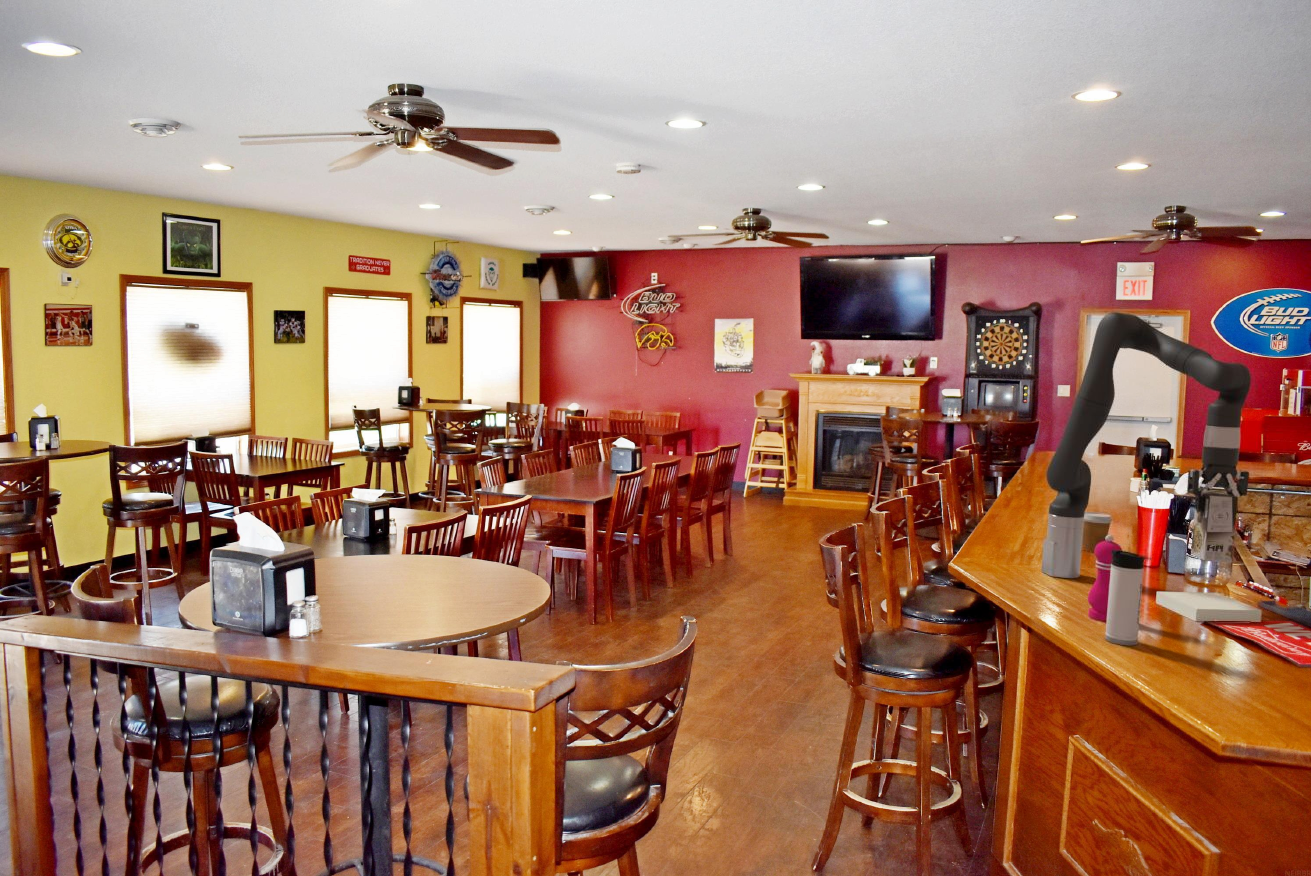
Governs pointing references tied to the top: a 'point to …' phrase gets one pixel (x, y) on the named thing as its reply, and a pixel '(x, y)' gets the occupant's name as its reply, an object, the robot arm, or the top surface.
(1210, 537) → the coffee box
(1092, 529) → the disposable coffee cup
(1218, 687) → the top surface
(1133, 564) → the travel mug
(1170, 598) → the plinth
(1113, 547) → the pepper mill
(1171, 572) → the top surface
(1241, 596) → the top surface
